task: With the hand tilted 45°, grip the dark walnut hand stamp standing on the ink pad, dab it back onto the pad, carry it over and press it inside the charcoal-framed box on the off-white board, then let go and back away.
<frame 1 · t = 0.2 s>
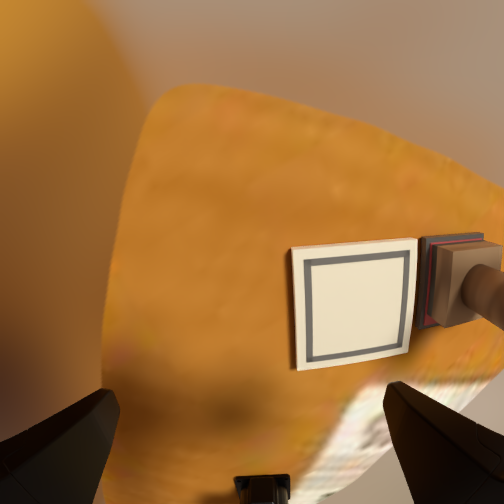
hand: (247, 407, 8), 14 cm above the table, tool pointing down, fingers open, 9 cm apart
marked board: (355, 303, 22), on the table
ink pad: (449, 278, 22), on the table
stamp: (456, 276, 21), point 1 cm above the table, touching ink pad
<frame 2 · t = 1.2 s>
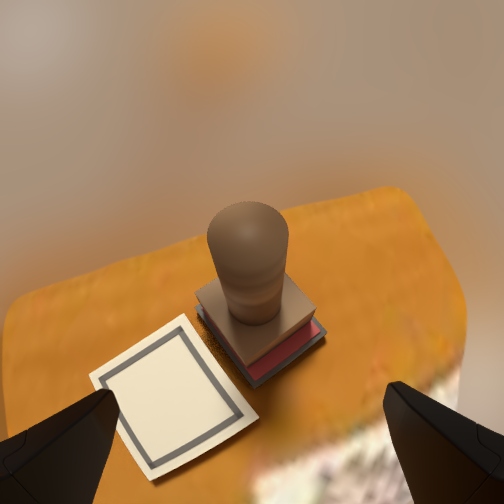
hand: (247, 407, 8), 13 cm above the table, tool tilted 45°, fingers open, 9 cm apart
marked board: (168, 399, 20), on the table
ink pad: (259, 323, 23), on the table
stamp: (255, 315, 22), point 1 cm above the table, touching ink pad
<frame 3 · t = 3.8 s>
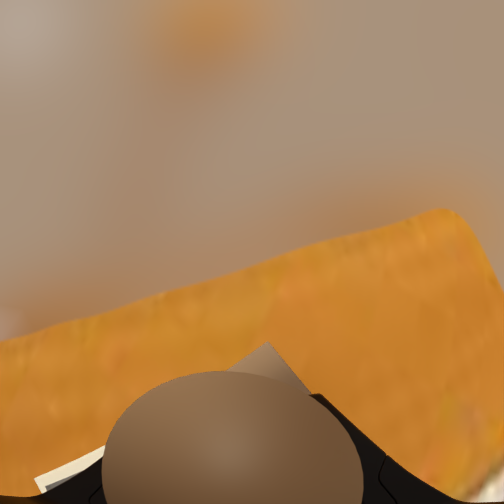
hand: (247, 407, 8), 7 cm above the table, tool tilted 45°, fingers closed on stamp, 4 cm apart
stamp: (255, 435, 12), point 1 cm above the table, touching gripper, ink pad
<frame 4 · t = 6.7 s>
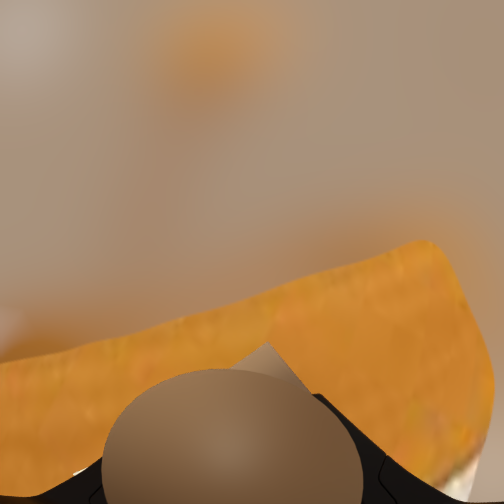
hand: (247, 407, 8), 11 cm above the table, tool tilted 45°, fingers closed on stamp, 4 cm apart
stamp: (255, 435, 12), point 6 cm above the table, touching gripper
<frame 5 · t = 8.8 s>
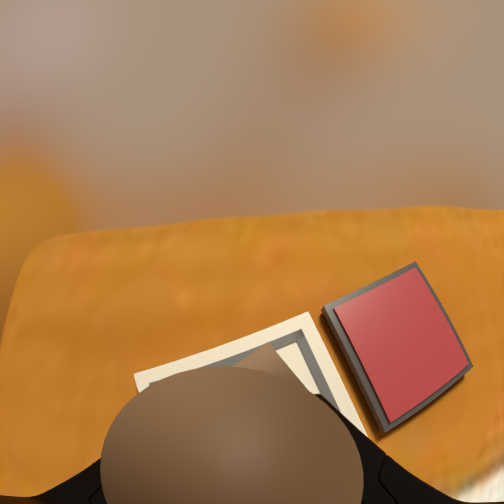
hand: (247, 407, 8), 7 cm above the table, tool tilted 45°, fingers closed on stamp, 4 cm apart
marked board: (255, 433, 13), on the table
ink pad: (401, 343, 15), on the table
stamp: (255, 436, 12), point 1 cm above the table, touching gripper, marked board
when the fingers open (7 cm above the table, at t = 9.8 s): stamp stays where it is, resting on marked board.
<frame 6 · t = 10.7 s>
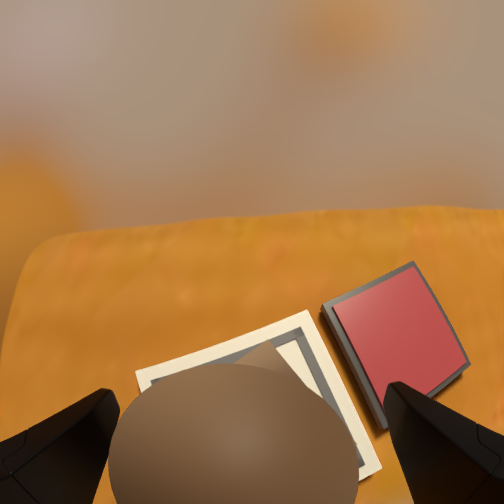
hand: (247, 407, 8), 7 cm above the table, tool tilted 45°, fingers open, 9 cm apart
marked board: (255, 430, 13), on the table
ink pad: (399, 341, 15), on the table
stamp: (255, 432, 12), point 1 cm above the table, touching marked board
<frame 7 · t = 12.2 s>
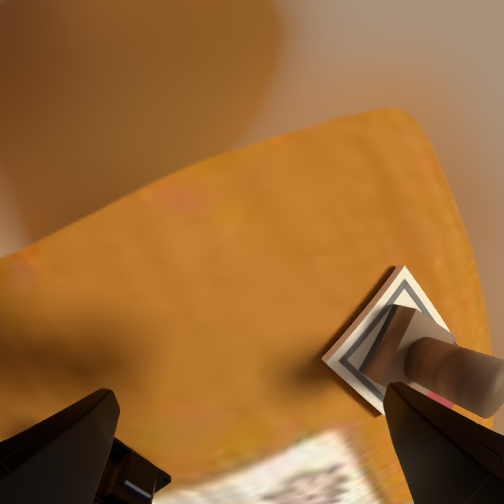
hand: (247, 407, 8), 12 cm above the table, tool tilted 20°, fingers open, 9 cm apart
marked board: (393, 346, 23), on the table
stamp: (399, 349, 22), point 1 cm above the table, touching marked board
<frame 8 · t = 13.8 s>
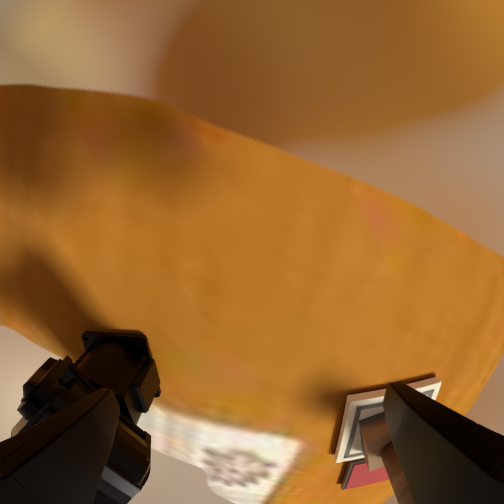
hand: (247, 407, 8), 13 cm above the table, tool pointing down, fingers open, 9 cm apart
marked board: (385, 421, 24), on the table
ink pad: (375, 466, 27), on the table
stamp: (388, 427, 23), point 1 cm above the table, touching marked board
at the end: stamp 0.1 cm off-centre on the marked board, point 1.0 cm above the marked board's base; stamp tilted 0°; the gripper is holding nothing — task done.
